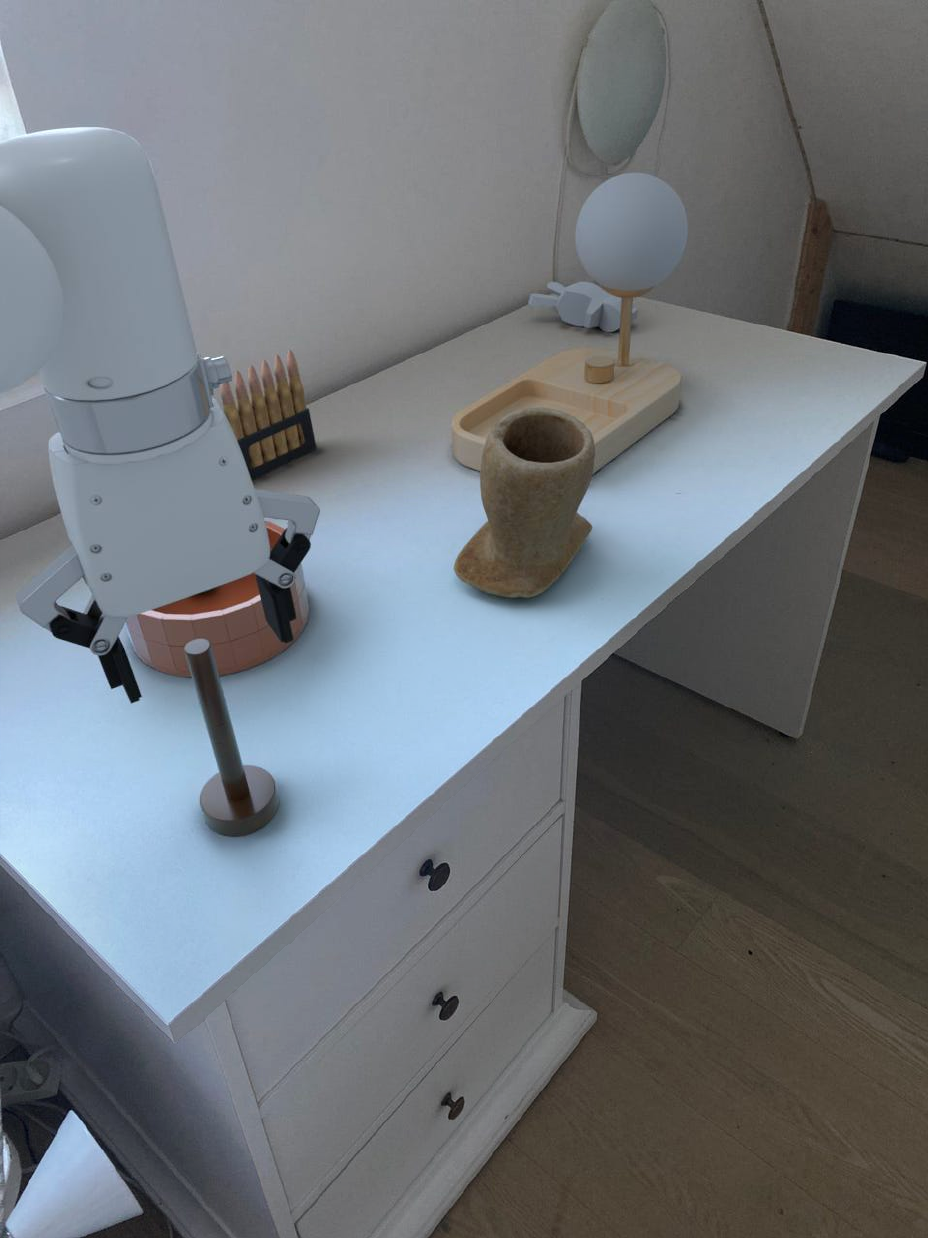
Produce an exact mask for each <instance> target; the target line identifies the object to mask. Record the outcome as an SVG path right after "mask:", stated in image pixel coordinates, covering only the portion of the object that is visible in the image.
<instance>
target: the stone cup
mask: <svg viewBox="0 0 928 1238" xmlns="http://www.w3.org/2000/svg"><path fill="white" fill-rule="evenodd" d="M594 458H595V445H594V439H593V436H592V434H591V432H590V430H589V429H588V428H587V427H586V426H585V425H584V423H582V422H581V421H579V420H578V419H577V418H576V417H574V416H572V415H570V414H568V413H565V412H563V411H560V410H556V409H551V408H544V407H538V408H526V409H521V410H517V411H514V412H511V413H509V414H508V415H506V416H505V417H503V418H502V419H500V420H499V421H498V422H497V423H496V424H495V425H494V427H493V428H492V429H491V431H490V433H489V435H488V437H487V440H486V443H485V446H484V448H483V454H482V462H481V472H480V471H479V472H480V474H479V480H480V481H479V483H480V484H479V487H480V496H481V497H480V498H481V503H482V506H483V510H484V513H485V515H486V518H487V521H486V522H485V523H484V524H483V525H482V526H481V527H480V528H479V529H478V531H476V532H475V533H474V535H472V537H471V538H470V539H469V541H468V542H467V543H466V544H465V545H464V546H463V547H462V549H461V551H460V552H459V553H458V555H457V557H456V558H455V561H454V565H453V571H454V574H455V576H456V577H457V578H458V580H460V581H461V582H463V583H465V585H468V586H469V587H472V588H473V589H477V590H479V591H481V592H483V593H486V594H490V595H493V596H494V595H495V596H499V597H503V598H511V599H515V598H525V599H529V598H533V597H536V596H539V595H541V594H542V593H544V592H545V591H547V589H549V588H550V587H551V586H552V585H553V584H554V583H555V582H556V581H557V580H559V578H560V577H561V576H562V574H563V573H564V572H565V571H566V569H568V567H569V565H570V563H571V562H572V561H573V560H574V558H575V557H576V555H577V554H578V552H579V551H580V549H581V548H582V546H583V545H584V543H585V542H586V541H587V539H588V537H589V536H590V534H591V533H592V530H593V526H592V523H590V522H589V521H588V519H587V518H586V517H585V516H582V515H580V513H578V510H579V509H580V508H579V507H580V506H581V504H582V502H583V500H584V498H585V495H586V493H587V491H588V490H589V487H590V484H591V481H592V478H593V475H594V474H593V468H594Z"/></svg>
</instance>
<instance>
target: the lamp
mask: <svg viewBox="0 0 928 1238" xmlns="http://www.w3.org/2000/svg"><path fill="white" fill-rule="evenodd" d="M574 233H575V234H574V236H575V240H574V241H575V248H576V253H577V255H578V258H579V261H580V263H581V265H582V267H583V268H584V271H586V273H587V275H589V277H591V278H592V279H593V281H595V282H596V283H598V284H599V286H600V287H601V289H602V290H603V291H606V292H608V293H609V294H611V295H613V296H616V297H620V298H621V316H620V328H619V333H618V334H619V335H618V338H619V339H618V350H614V349H608V348H602V347H601V348H600V347H581V348H573V349H568V350H564V351H561V352H559V353H557V354H555V355H553V356H551V357H549V358H548V359H546V360H544V361H543V362H540V363H538V364H537V365H535V366H534V367H532V368H530V369H529V370H527V371H525V372H524V373H522V374H520V375H518V376H517V377H516V378H513V379H511V380H509V381H508V382H507V383H505V384H503V385H501V386H500V387H498V388H496V389H495V390H493V391H491V392H490V393H488V394H486V395H484V396H483V397H481V398H480V399H478V400H476V401H474V402H473V403H471V404H469V405H468V406H465V407H464V408H463V409H461V410H459V411H458V412H457V413H456V414H455V415H454V416H453V418H452V420H451V436H452V437H451V438H452V451H453V452H452V453H453V456H454V458H455V459H456V461H457V462H458V463H460V464H461V465H462V466H465V467H467V468H468V469H469V468H470V469H471V470H475V471H478V472H481V462H482V454H483V448H484V446H485V443H486V440H487V437H488V435H489V433H490V431H491V429H492V428H493V427H494V425H495V424H496V423H497V422H498V421H499V420H500V419H502V418H503V417H505V416H506V415H508V414H509V413H511V412H514V411H517V410H521V409H526V408H538V407H544V408H551V409H556V410H560V411H563V412H565V413H568V414H570V415H572V416H574V417H576V418H577V419H578V420H579V421H581V422H582V423H584V425H585V426H586V427H587V428H588V429H589V430H590V432H591V434H592V436H593V439H594V445H595V458H594V468H593V475H594V474H595V473H596V472H598V471H600V469H602V468H604V466H606V465H607V464H608V463H610V462H611V461H612V460H613V459H615V458H617V457H618V456H619V455H620V454H622V453H623V452H625V451H626V450H627V449H628V448H630V447H631V446H632V445H633V444H635V443H637V441H639V440H640V439H641V438H643V437H645V435H647V434H648V433H650V432H651V431H652V430H653V429H655V428H656V427H658V425H660V424H661V423H662V422H664V421H665V420H666V419H668V418H669V417H670V416H672V415H673V414H674V413H675V412H676V411H677V410H678V409H679V405H680V395H681V386H682V374H681V372H680V370H678V369H677V368H676V367H675V366H674V365H671V364H669V363H666V362H664V361H660V360H656V359H652V358H648V357H644V356H639V355H635V354H632V353H631V354H630V351H631V350H630V349H631V336H632V335H631V334H632V323H631V320H632V305H633V304H634V298H640V297H643V296H645V295H646V294H648V293H650V292H651V291H652V290H654V288H655V287H656V286H657V285H658V284H660V283H661V282H662V281H664V280H665V279H666V278H668V277H669V276H670V274H671V273H672V272H673V271H674V270H675V269H676V267H677V265H678V264H679V262H680V260H681V258H682V257H683V253H684V252H685V249H686V246H687V242H688V237H689V236H688V235H689V222H688V216H687V212H686V208H685V206H684V204H683V201H682V199H681V197H680V196H679V194H678V193H677V192H676V191H675V190H674V188H673V187H672V186H671V185H669V184H668V183H667V182H666V181H664V180H663V179H662V178H659V177H657V176H655V175H652V174H648V173H644V172H627V173H622V174H618V175H616V176H613V177H611V178H609V179H607V180H605V181H604V182H602V183H601V184H600V185H598V187H596V188H595V189H594V190H593V191H592V192H591V193H590V194H589V196H588V197H587V198H586V200H585V202H584V203H583V204H582V207H581V210H580V211H579V214H578V217H577V221H576V225H575V232H574ZM633 306H634V305H633Z"/></svg>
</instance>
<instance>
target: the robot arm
mask: <svg viewBox="0 0 928 1238" xmlns="http://www.w3.org/2000/svg"><path fill="white" fill-rule="evenodd" d="M181 283H182V282H181V280H180V275H179V271H178V267H177V263H176V258H175V255H174V251H173V246H172V242H171V237H170V234H169V229H168V225H167V221H166V217H165V211H164V209H163V204H162V199H161V196H160V192H159V188H158V183H157V180H156V176H155V173H154V169H153V165H152V163H151V160H150V158H149V156H148V154H147V153H146V151H145V150H144V148H143V147H142V145H141V144H140V143H139V142H138V141H137V140H136V139H135V138H134V137H132V136H130V135H128V134H127V133H125V132H124V131H119V130H116V129H111V128H107V127H96V126H95V127H94V126H93V127H92V126H85V127H84V126H81V127H65V128H54V129H48V130H40V131H35V132H31V133H25V134H21V135H17V136H13V137H10V138H7V139H4V140H1V141H0V395H1V394H5V393H7V392H9V391H12V390H14V389H16V388H18V387H20V386H22V385H23V384H24V383H26V382H27V381H28V380H30V379H32V377H34V376H35V375H36V374H39V376H40V379H41V382H42V385H43V389H44V392H45V395H46V398H47V400H48V404H49V406H50V409H51V412H52V415H53V417H54V420H55V424H56V426H57V428H58V432H56V433H54V434H53V435H52V436H51V437H50V438H49V440H48V443H47V449H48V458H49V466H50V472H51V477H52V482H53V483H52V484H53V486H54V487H53V488H54V491H55V495H56V500H57V502H58V506H59V509H60V514H61V517H62V520H63V524H64V527H65V530H66V533H67V536H68V539H69V544H70V545H69V546H68V547H67V548H66V549H64V551H63V552H61V553H60V554H59V555H58V556H56V557H55V558H54V559H53V561H51V562H49V564H48V565H47V566H46V567H44V568H43V569H42V570H41V571H40V572H39V573H38V574H37V575H35V576H34V577H33V578H32V579H30V581H28V582H27V583H26V584H25V585H24V586H23V587H22V588H21V589H20V590H18V591H17V592H16V595H15V599H16V602H17V605H18V608H19V611H20V612H21V613H22V615H24V616H25V617H27V618H28V619H30V620H31V621H33V622H34V623H36V624H37V625H39V626H40V627H41V628H43V629H46V630H47V631H49V632H50V633H51V634H52V636H53V637H54V638H55V639H58V640H61V641H63V642H67V643H71V644H74V645H77V646H80V647H83V648H86V649H89V650H90V652H91V653H92V654H93V655H95V656H97V657H98V660H99V663H100V665H101V667H102V670H103V673H104V675H105V677H106V680H107V682H108V685H109V688H110V689H111V690H114V689H116V688H119V687H121V686H122V687H123V689H124V691H125V694H126V696H127V698H128V700H129V702H130V704H134V703H137V702H139V701H140V698H143V695H142V693H141V690H140V687H139V685H138V682H137V680H136V676H135V673H134V671H133V668H132V665H131V662H130V660H129V657H128V654H127V652H126V651H127V650H126V649H125V647H124V644H123V642H122V640H121V638H120V637H119V636H120V633H121V632H122V630H123V627H125V625H124V624H125V622H126V620H127V618H128V617H129V616H134V615H137V614H141V613H144V612H147V611H150V610H153V609H155V608H158V607H161V606H164V605H167V604H170V603H173V602H175V601H178V600H181V599H184V598H187V597H190V596H192V595H195V594H198V593H201V592H204V591H206V590H209V589H212V588H215V587H218V586H220V585H223V584H226V583H229V582H232V581H234V580H237V579H240V578H242V577H245V576H247V575H250V574H252V573H254V574H256V575H255V576H256V581H257V585H258V589H259V593H260V598H261V602H262V606H263V610H264V615H265V618H266V621H267V623H268V624H269V626H270V627H271V628H272V630H273V631H274V633H275V634H276V635H277V637H278V638H279V640H280V641H281V642H282V643H283V642H285V643H289V642H291V641H293V640H294V639H293V634H292V630H291V625H290V621H292V620H295V619H296V612H295V608H294V603H293V598H292V593H291V589H290V586H291V585H292V584H293V583H294V582H295V574H294V572H295V571H296V569H297V568H298V566H299V565H300V563H302V562H303V561H304V559H305V558H306V556H307V554H308V553H309V552H310V550H311V547H312V543H311V537H312V536H313V535H314V532H315V529H316V525H317V523H318V519H319V516H320V512H321V510H320V506H318V504H317V503H316V502H315V501H314V500H313V499H312V498H311V497H309V496H308V495H307V496H306V495H302V494H301V495H299V494H294V493H286V492H279V491H271V490H265V489H258V488H255V486H254V484H253V480H251V477H250V474H249V471H248V468H247V466H246V463H245V460H244V457H243V454H242V452H241V449H240V447H239V444H238V442H237V439H236V437H235V435H234V432H233V430H232V428H231V426H230V424H229V421H228V419H227V417H226V415H225V413H224V409H223V407H222V406H221V405H220V402H219V401H218V400H217V399H215V398H214V397H212V396H214V395H215V394H214V389H218V388H220V385H221V384H222V383H226V382H228V383H229V382H232V380H233V376H232V371H231V367H230V364H229V362H228V361H227V359H226V357H225V356H224V355H222V356H218V357H214V358H211V357H209V356H208V357H203V356H202V355H201V354H200V353H198V350H197V346H196V342H195V337H194V334H193V329H192V325H191V322H190V316H189V313H188V309H187V304H186V300H185V295H184V292H183V288H182V284H181ZM265 518H267V519H275V520H282V521H287V527H286V528H284V529H285V530H284V532H283V533H282V535H281V536H280V538H279V539H278V541H277V542H276V544H275V545H274V547H273V549H271V548H270V543H269V538H268V533H267V529H266V525H265V521H266V520H265ZM81 579H83V580H84V583H85V584H86V586H88V588H89V590H90V593H91V597H90V599H89V600H88V603H87V605H86V607H85V609H84V611H83V612H80V611H77V610H75V609H72V608H69V607H65V606H62V605H59V604H58V603H57V601H58V599H60V598H61V597H62V596H63V595H64V594H65V593H67V591H69V589H71V588H72V587H74V585H75V584H76V583H78V582H79V581H80V580H81Z"/></svg>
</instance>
